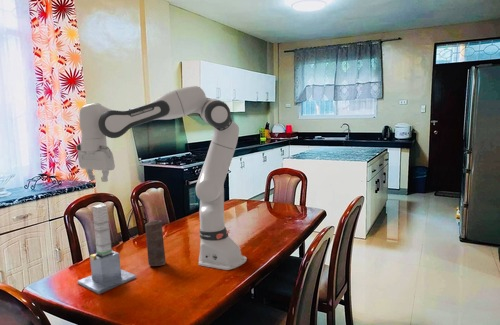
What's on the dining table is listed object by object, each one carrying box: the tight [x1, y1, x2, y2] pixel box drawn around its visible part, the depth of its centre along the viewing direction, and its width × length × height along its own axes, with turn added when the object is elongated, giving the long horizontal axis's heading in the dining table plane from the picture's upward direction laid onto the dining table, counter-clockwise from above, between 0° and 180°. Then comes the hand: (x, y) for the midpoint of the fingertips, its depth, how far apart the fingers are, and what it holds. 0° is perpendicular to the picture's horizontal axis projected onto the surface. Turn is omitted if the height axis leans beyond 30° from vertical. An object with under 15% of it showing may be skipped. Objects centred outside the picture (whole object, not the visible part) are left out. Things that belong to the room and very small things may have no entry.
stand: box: [77, 250, 137, 295], centre depth 141 cm, size 16×16×12 cm
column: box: [91, 203, 113, 258], centre depth 139 cm, size 4×4×22 cm
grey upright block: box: [144, 219, 167, 267], centre depth 154 cm, size 8×7×20 cm
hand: (98, 180), depth 138 cm, fingers open, 8 cm apart
